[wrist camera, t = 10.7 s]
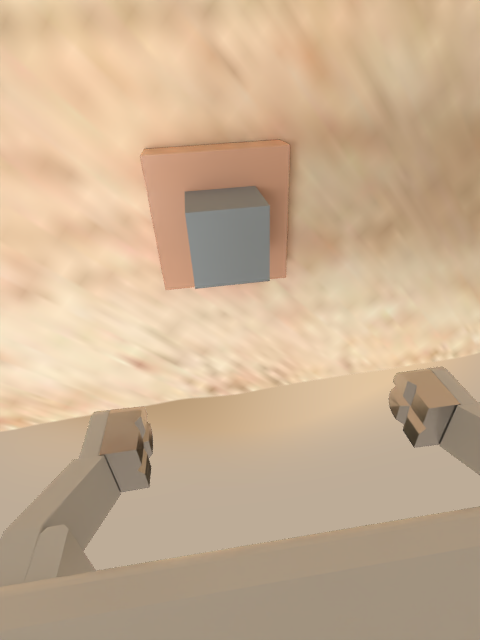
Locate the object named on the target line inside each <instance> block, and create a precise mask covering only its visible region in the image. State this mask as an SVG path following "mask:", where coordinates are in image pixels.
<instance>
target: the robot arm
mask: <svg viewBox="0 0 480 640" xmlns="http://www.w3.org/2000/svg"><path fill="white" fill-rule="evenodd" d="M393 382H394V384H395V385H396V386H395V387H394V388H393V389H392V390H391V391H390V394H389V405H390V409H391V411H392V414H393V415H394V417H395V419H396V420H398V421H400V422H401V423H403V424H404V427H403V431H404V433H405V434H406V436H407V438H408V439H409V441H410V442H411V444H412V445H413V447H414V448H415V447H423V446H431V445H440V446H441V447H442V448H443V449H445V450H446V451H447V452H449V453H450V454H451V455H453V456H454V457H456V458H457V459H458V460H460V461H461V462H462V463H464V464H465V465H466V466H468V467H469V468H471V469H472V470H474V471H475V472H476V473H478V474H479V475H480V402H477V401H476V400H475V399H474V398H473V397H472V396H471V395H470V394H469V393H468V391H467V390H466V389H465V388H464V387H463V386H462V385H461V384H460V383H459V382H458V381H457V380H456V379H455V378H454V376H453V375H452V374H451V373H450V372H449V371H448V370H447V369H446V368H444V367H436V368H428V369H421V370H414V371H407V372H399V373H397V374H396V375H395V376H394V379H393ZM152 450H153V436H152V429H151V425H150V423H148V422H147V412H146V409H145V407H144V406H142V407H132V408H123V409H113V410H107V411H97V412H94V413H93V414H92V416H91V418H90V421H89V425H88V428H87V432H86V435H85V439H84V442H83V446H82V449H81V453H80V456H79V459H74V460H73V461H72V462H71V463H70V464H69V465H68V466H67V467H66V468H65V469H64V470H63V471H62V472H61V473H60V474H59V475H58V476H57V477H56V478H55V479H54V480H53V481H52V482H51V484H50V485H49V486H48V487H47V488H46V489H45V490H44V491H43V492H42V493H41V494H40V495H39V496H38V497H37V498H36V499H35V500H34V501H33V502H32V503H31V504H30V505H29V506H28V507H27V508H26V509H25V510H24V511H23V512H22V513H21V515H19V517H18V518H17V519H16V520H15V521H14V522H13V523H12V524H11V525H10V526H9V527H8V528H7V529H6V530H5V531H4V532H3V534H2V537H1V539H0V640H480V506H479V507H473V508H467V509H461V510H455V511H449V512H443V513H438V514H431V515H425V516H420V517H413V518H407V519H401V520H396V521H389V522H383V523H377V524H371V525H365V526H359V527H354V528H348V529H341V530H336V531H329V532H324V533H318V534H312V535H306V536H300V537H294V538H288V539H282V540H276V541H271V542H264V543H258V544H252V545H246V546H240V547H234V548H228V549H222V550H217V551H211V552H205V553H199V554H193V555H187V556H181V557H175V558H169V559H163V560H157V561H151V562H145V563H139V564H134V565H127V566H121V567H115V568H109V569H104V570H97V571H96V570H95V569H94V567H93V565H92V564H91V562H90V561H89V559H88V558H87V556H86V555H85V553H84V552H83V551H84V550H85V548H86V547H87V545H88V543H89V542H90V540H91V539H92V537H93V536H94V534H95V533H96V531H97V530H98V528H99V527H100V525H101V524H102V522H103V520H104V519H105V518H106V516H107V515H108V513H109V511H110V510H111V508H112V507H113V505H114V504H115V502H116V501H117V499H118V498H119V496H120V495H121V493H120V492H126V491H131V490H136V489H142V488H148V487H149V486H150V475H151V465H150V461H149V458H150V456H151V455H152V452H153V451H152Z"/></svg>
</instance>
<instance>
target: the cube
mask: <svg viewBox="0 0 480 640" xmlns="http://www.w3.org/2000/svg"><path fill="white" fill-rule="evenodd" d="M185 217H186V224H187V232H188V239H189V247H190V254H191V261H192V269H193V276H194V284H195V289H197V288H207V287H216V286H225V285H235V284H244V283H254V282H263V281H270V205H269V204H268V203H267V201H266V200H265V198H264V197H263V196H262V194H261V193H260V192H259V190H258V189H257V187H256V186H247V187H235V188H223V189H211V190H198V191H186V192H185Z"/></svg>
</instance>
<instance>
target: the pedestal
mask: <svg viewBox="0 0 480 640" xmlns="http://www.w3.org/2000/svg"><path fill="white" fill-rule="evenodd" d="M140 158H141V163H142V169H143V174H144V179H145V184H146V190H147V195H148V200H149V205H150V211H151V216H152V221H153V226H154V232H155V237H156V242H157V247H158V253H159V258H160V263H161V269H162V274H163V279H164V284H165V290H171V289H181V288H190V287H195V284H194V276H193V269H192V261H191V254H190V247H189V239H188V232H187V224H186V217H185V192H186V191H198V190H211V189H223V188H235V187H247V186H256V187H257V189H258V190H259V192H260V193H261V194H262V196H263V197H264V198H265V200H266V201H267V203H268V204H269V205H270V279H275V278H285V277H286V260H287V228H288V196H289V164H290V145H289V144H287V143H285V142H284V141H282V140H266V141H252V142H238V143H223V144H209V145H195V146H181V147H167V148H153V149H144V150H143V152H142V154H141V155H140Z"/></svg>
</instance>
